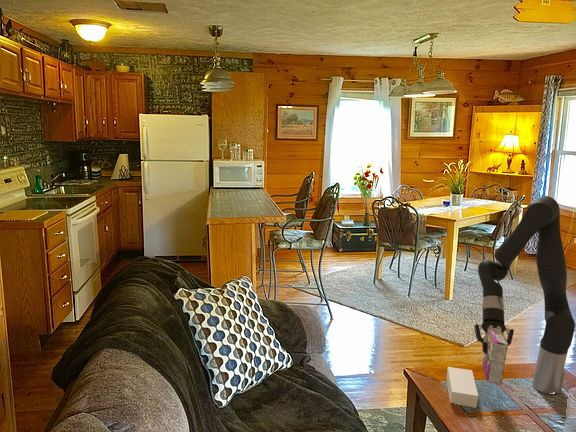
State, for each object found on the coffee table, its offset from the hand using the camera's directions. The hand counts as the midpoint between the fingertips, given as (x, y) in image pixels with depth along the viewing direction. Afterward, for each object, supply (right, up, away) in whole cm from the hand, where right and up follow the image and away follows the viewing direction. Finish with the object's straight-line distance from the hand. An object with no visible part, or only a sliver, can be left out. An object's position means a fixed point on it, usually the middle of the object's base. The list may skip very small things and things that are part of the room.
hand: (494, 354), depth 171 cm
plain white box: (-10, -16, +7) cm, 20 cm away
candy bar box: (0, -8, +2) cm, 8 cm away
